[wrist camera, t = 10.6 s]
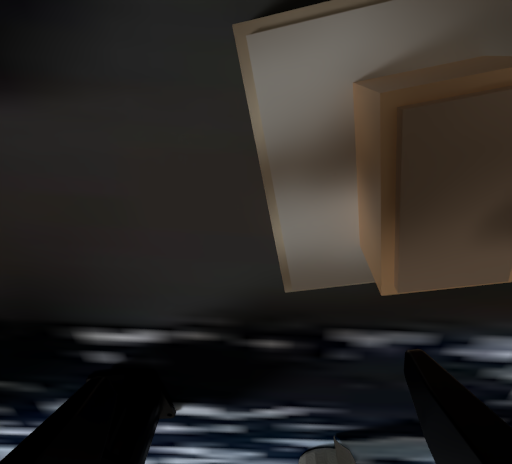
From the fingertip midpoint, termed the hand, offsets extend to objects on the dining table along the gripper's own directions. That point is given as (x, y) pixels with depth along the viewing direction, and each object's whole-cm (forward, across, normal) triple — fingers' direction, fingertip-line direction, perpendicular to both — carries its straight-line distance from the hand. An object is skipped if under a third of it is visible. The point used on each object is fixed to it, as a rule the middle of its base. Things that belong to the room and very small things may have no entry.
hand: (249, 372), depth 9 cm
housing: (+8, -8, -3) cm, 12 cm away
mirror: (+11, -8, -3) cm, 14 cm away
